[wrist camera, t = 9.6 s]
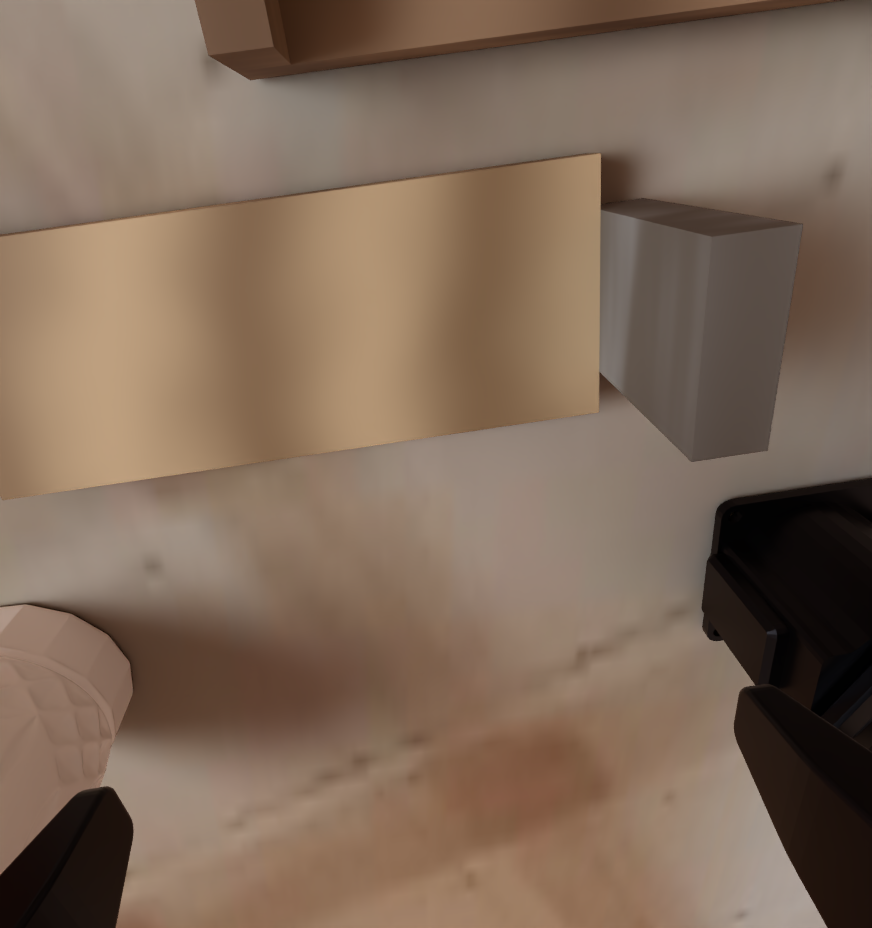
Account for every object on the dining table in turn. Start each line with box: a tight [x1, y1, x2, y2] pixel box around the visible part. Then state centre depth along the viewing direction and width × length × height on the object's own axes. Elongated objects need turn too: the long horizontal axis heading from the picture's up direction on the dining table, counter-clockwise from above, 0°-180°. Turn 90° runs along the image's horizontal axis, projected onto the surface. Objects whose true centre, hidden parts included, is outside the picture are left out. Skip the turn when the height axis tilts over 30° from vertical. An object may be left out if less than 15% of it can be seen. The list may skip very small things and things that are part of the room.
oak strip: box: [0, 153, 803, 500], centre depth 14 cm, size 20×7×7 cm, turn 97°
